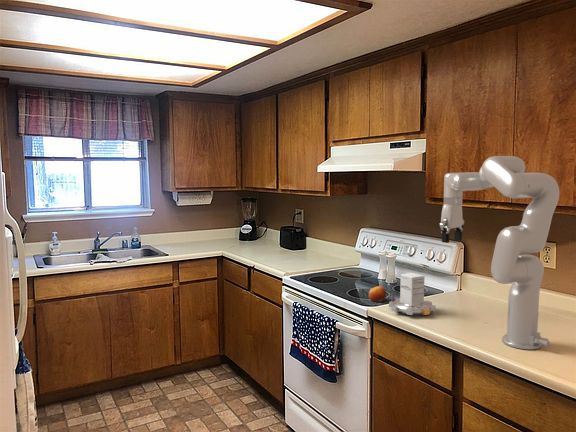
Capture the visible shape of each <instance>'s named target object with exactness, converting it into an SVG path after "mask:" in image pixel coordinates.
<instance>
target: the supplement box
mask: <svg viewBox="0 0 576 432" xmlns="http://www.w3.org/2000/svg"><path fill="white" fill-rule="evenodd" d="M399 291H400V292H399V298H400V302H401V303H404V304H407V305H409V306H417V305H422V304H424V301H425V275H422V274H418V273H416V272H407V273H402V274H400V290H399Z"/></svg>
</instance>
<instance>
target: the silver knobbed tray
mask: <svg viewBox="0 0 576 432" xmlns="http://www.w3.org/2000/svg"><path fill="white" fill-rule="evenodd" d="M388 302H389V303H388V307H389V308H391V311H393V312H395V313H398V312H400V313H401V312H402V313H401V314H403V313H406V314H407V315H406V314H405V315H406V316H414V315H413V314H422V315H423V316H424V315H425V316H426V315H430V313H431V312H436V310H437V309H436V306H437V305H434V304H433V302H432V301H430V300H424V304H422V305H417V306H409V305H407V304H404V303H401V302H400V297H399V298H395V300H393V301H392V300H390V301H388Z"/></svg>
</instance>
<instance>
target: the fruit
mask: <svg viewBox="0 0 576 432" xmlns="http://www.w3.org/2000/svg"><path fill="white" fill-rule="evenodd" d="M386 293H387V291H386V289H385V288H384V287H383V286H379V285H378V286H375V287H372V288H370V290H369V293H368V298H369V300H370V301H372V302H375V303H378V302H380V303H382V301H385V300H386V299H385V298H386Z"/></svg>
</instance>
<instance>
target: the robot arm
mask: <svg viewBox="0 0 576 432" xmlns="http://www.w3.org/2000/svg"><path fill="white" fill-rule="evenodd" d="M525 171H526V164H525V161H524V160H523V159H521V158H520V157H518V156H515V155H494V156H490V157H488V158H486V159H485V160H484V161H483V163H482V165H481V167H480V168H479V171H478V172H475V171H473V172H472V171H471V172H470V171H466V172H448V173H445V174H444V176H443V177H444V178H443V180H444V181H443V205H442V209H441V217H440V223H439V228H440V229H439V230H440V233H441V242H442V243H444V244H445V243H446V244H449V243H450V230H451V229H454V238H453V239H454V241H462V240H463V239H462V237H463V235H462V234H463V231H464V229H463V228H464V224H465V220H464V218H463V192H468V191H469V192H470V191H483V190H487V189H490V188H493V187H494V188H495V189H496V190H497V191H498V192H499V193H500V194H502V195H503V196H504V197H507V198H510V199H530V198H531V199H532V200H531V202H529V204H528V205H527V206H526V208H525V209H524V211H523V214H522V220H521V221H520V222H521V223H520V224H519V225H515V226H514V225H512V226H508V227H504V228H503V229H502V230H500V231H499V233H498V235H497V237H496V241H495V245H494V248H493V254H492V259H491V263H490V264H491V266H490V271H491V276H492V278H493V280H494V281H495V282H497V283H498V284H502V285H510V284H511V285H510V287H509V291H508V297H507V298H508V300H507V301H508V302H507V321H506V323H507V326H506V327H507V328H506V334H504V335H502V336H501V342H502V343H504V344H505V345H506V346H508V347H511V348H515V349H520V350H537V349H541V348H542V347H543V346H545V347H549V346H550V341H549V339H548V338H547V337H546V338H545V337H542V336H541V332H540V331H538V330H539V329H538V326H539V305H540V304H539V303H540V302H539V301H540V291H541V284H542V281H543V277H544V273H545V268H544V263H543V261H542V260H541V259H540V258H539V257H537V256H536V255H533V254H536V253H540V252H541V251H543V250H544V248H545V246H546V243H547V239H548V236H549V232H550V227H551V223H552V220H553V219H552V218H553V215H554V213H555V210H556V207H557V205H558V203H559V200H560V187H559V184H558V182H557V181H556V179H555V178H554V177H553V176H552V175H550V174H547V173H544V172H525Z"/></svg>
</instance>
